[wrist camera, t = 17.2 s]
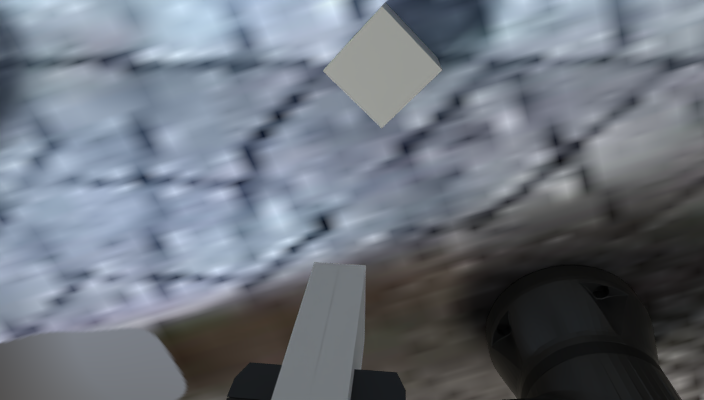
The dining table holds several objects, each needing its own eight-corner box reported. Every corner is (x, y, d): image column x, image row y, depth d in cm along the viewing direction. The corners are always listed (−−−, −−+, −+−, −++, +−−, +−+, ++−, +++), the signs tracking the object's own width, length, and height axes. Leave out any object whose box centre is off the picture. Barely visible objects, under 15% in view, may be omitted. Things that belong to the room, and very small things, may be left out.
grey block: (437, 57, 40) (442, 69, 34) (384, 108, 42) (381, 128, 36) (385, 2, 38) (381, 6, 33) (333, 58, 40) (322, 70, 35)
